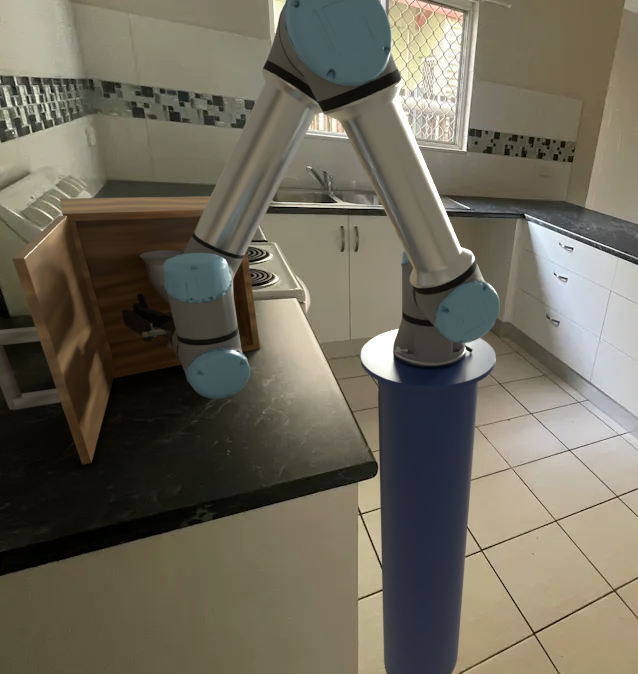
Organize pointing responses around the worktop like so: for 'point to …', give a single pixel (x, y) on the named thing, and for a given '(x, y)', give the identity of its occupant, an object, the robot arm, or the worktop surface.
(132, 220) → the cabinet
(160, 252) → the chalice
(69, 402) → the cabinet door
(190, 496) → the worktop surface
